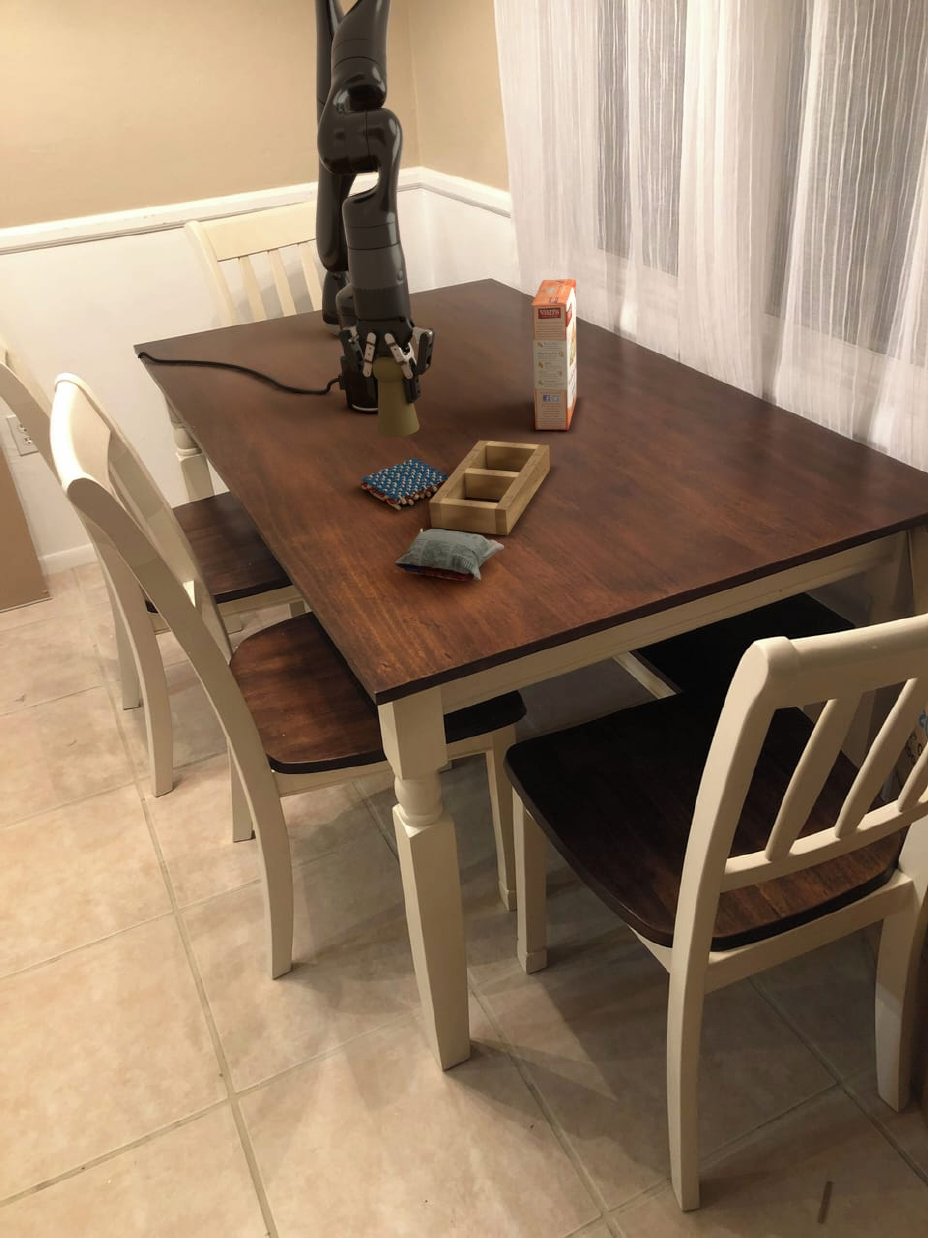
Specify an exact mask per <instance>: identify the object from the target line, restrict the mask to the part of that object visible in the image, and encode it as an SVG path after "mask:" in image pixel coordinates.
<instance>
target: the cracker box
mask: <svg viewBox="0 0 928 1238" xmlns="http://www.w3.org/2000/svg"><path fill="white" fill-rule="evenodd" d="M531 333H532V335H531V336H532V337H531V338H532V365H533V392H534V394H533V395H534V420H535V421H534V424H535V430H536V431H569V429H570V425H571V422H572V417H573V414H574V411H575V405H576V402H577V280H576V279H572V278H569V279H568V278H562V279H561V278H560V279H543V280H542V281H541V283H540V286H539V288H538V290H537V292H536V294H535V296H534V298H533V301H532V303H531Z"/></svg>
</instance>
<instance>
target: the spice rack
mask: <svg viewBox="0 0 928 1238" xmlns="http://www.w3.org/2000/svg"><path fill="white" fill-rule="evenodd" d="M550 457H551V456H550V445H549V444H536V443H522V442H521V443H520V442H508V441H494V440H481V439H480V440H478V441H477V443H476V444H475V445H474V446H473V447H472V449H471V450H470V451H469V452H468V453H467V454H466V456H465V457H464V459H462V461H461V462H460V463H459V464H458V465H457V467H456V468H455V469H454V470H453V472H452V473H451V474H450V476H448V477H449V478H448V479H447V481H446V482H445V483H444V484H443V485H442V486H440V487H441V488H440V489H439V490H438V491H436V492H435V494H434V495H433V496H432V498H431V499H430V500H429V502H428V507H429V513H430V514H429V517H430V523H431V524H430V525H431V528H432V529H443V530H451V531H461V532H472V533H482V534H490V535H491V534H492V535H499V536H509V534H510V532H511V531H512V529H513V528H514V527H515V525H516V523H517V522H518V520H519V519H520V517H521V516H522V514H523V512H524V511H525V509H526V508H527V506H528V505H529V503H530V501H531V500H532V498H533V497H534V495H535V494H536V492H537V491H538V489H539V487H540V486H541V484H542V483H543V481H544V480H545V478H546V476H547V474H548V473H549V472H550V470H551V458H550ZM466 498H470V499H471V498H472V499H481V500H482V499H483V500H493V501H498V502H490V501H489V502H488V501H479V500H468V499H466Z"/></svg>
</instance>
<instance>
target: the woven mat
mask: <svg viewBox="0 0 928 1238" xmlns="http://www.w3.org/2000/svg"><path fill="white" fill-rule="evenodd" d="M435 469H436V467H434V466H432V467H430V465H429V464H428V463H426V464H425V463H424V461H423V460H418V458H417V457H413V458H412V459H410V460H404V461H403V462H402V463H401V464H400V463H395V465H394V466H392V467H391V466H389V467H388V468H385V469H380V471H378V472H377V473H376V472H375V473H374V472H372V473H371V474H370V475H368V476H364V477H363V478H362V479H361V481H362V482H360V486H361V489H363V490H365V491H368V492H370V494H372V495H373V496H374V497H376V498H377V499H379V500H380V501H382V502H386V503H387V504H388V505H390V506H391V507H393V508H395V509H396V510H398V511H400V510H401V509H402V507H401V506H400V505H406V504H409V505H410V506H413V505H414V504H415V502H414V501H418V500H419V498H420V499H421V500H423V499H425V497H431V496H432V493H437V492H438V490H439V489H440V488H441V487H442V485H443V484H444V483H445V482H446V481H447V479H448V478H449V477H450V476H448V473H442V470H435ZM399 504H400V505H399Z"/></svg>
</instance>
